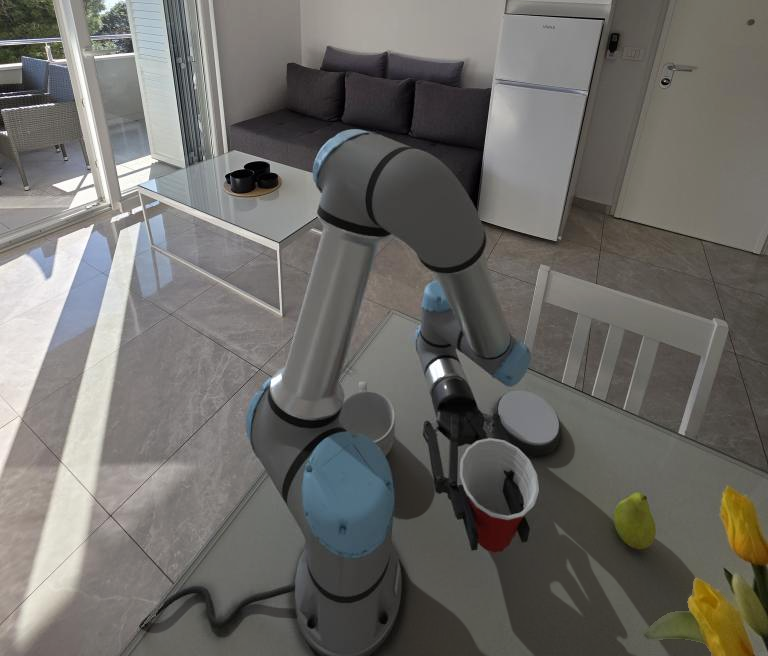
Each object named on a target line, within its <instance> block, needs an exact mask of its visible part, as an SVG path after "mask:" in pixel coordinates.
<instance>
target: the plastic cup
mask: <svg viewBox="0 0 768 656" xmlns="http://www.w3.org/2000/svg"><path fill="white" fill-rule="evenodd" d="M504 470H505V471H507V472H510V471H511V470H512V471H513V472H514V473H515V474H514V478H513V481H514V482H515V483H516V484H517V486H518V487H519V489H520V491H521V494H522V496H523V499H524V504H523V507H522V510H523V511H522V512H521V513H517V514H513V515H511V512H510V510H509V507H508V505H507V502H506V499H505V497H504V494H503V485H504V480H505V479H506V475H505V473H504ZM459 477H460V481H461V485H462V484H463V487H464V490H465V492H466V495H467V498H468V501H469V504H470V508H471V511H472V514H473V518H474V521H475V524H476V527H477V531H478V534H479V541H478V546H480V547H482V548H483V549H484V550H486V551H488V552H490V553H501V552H503V551H504V550H505V549H506V548H507V547H509V546H510V544H511V542H512V540H513V539H514V537H515V536H516V535H517V533H518V531H517V529H518V526H519V524H520V522H521V520H522V519H523V518H524V516H525V517H526V515H527V513H528V512H530V511H531V510H532V509H533V507H534V506H535V504H536V502H537V498H538V495H539V491H540V488H539V479H538V473H537V472H536V470H535V468H534V465H533V463H532V461H531V460H530V459H529V458H528V456H526V454H524V453H523V452H522V451H521V450H520V449H519V448H517V447H515V446H514V445H512V444H510V443H508V442H506V441H504V440H499V439H494V437H493V438H492V437H488V439H483V440H478V441H476V442H475V443H473V444H472V445H469V446H467V448H466V449H465V451H464V453H463V454H462V457H461V458H460V464H459Z"/></svg>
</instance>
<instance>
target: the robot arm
mask: <svg viewBox="0 0 768 656" xmlns="http://www.w3.org/2000/svg"><path fill="white" fill-rule="evenodd" d="M312 179H313V183H315V186H316V189H317V190H318V191H319V193H320V194H321V195H320V200H319V204H318V207H317V211H316V217H317V218H318V219H317V220H319V222H320V224H321V225H322V231H321V236H320V239H319V242H318V246H317V248H316V249H317V250H316V254H315V257H314V260H313V263H312V264H313V265H312V267H311V272H310V275H309V279H308V283H307V286H306V290H305V294H304V297H303V301H302V304H301V308H300V312H299V315H298V319H297V322H296V326H295V330H294V334H293V338H292V341H291V344H290V349H289V351H288V355H287V358H286V359H287V360H286V363H285V366H284V367H282V368H280V369H278V370H277V371H276V372H275V373H274V375H273V376H271V377H269V378H268V379H267V380H265V382H264V383H263V384H262V385H261V391H257V392H256V393H255V394H254V395H253V398H252V399H251V400H250V404H249V406H248V409H247V412H246V415H245V416H246V417H245V432H246V436H247V438H248V441H249V443H250V446H251V450H252V451H253V453H254V455H255V457H256V458H257V459H258V460H259V462H260V464H261V465H262V467H263V468H264V470H265V471H266V473H267V475H268V477H269V478H270V480H271V482H272V483H273V485H274V487H275V488H276V490H277V492H278V493H279V495H280V497H281V498H282V500H283V502H284V503H285V505H286V506H287V508H288V511H290V513H291V515H292V518H293V519H294V520H295V522H296V524H297V525H298V527H299V529H300V530H301V533H302V535H303V537H304V540H305V547H304V550H303V551H302V553H301V556H300V558H299V561H298V564H297V568H296V571H295V576H294V577H295V578H294V583H290V584H288V585H284V586H281V587H277V588H274V589H271V590H268V591H262V592H257V593H254V594H251V595H249V596H247V597H245V598H244V599H242V600H241V601H239V602H238V604H237V605H235V606H234V608H233V609H232V610H231V612H229V614H228V615H227V616H225V618H222V619H217V618H216V617H215V615H214V610H213V601H212V597H211V594H210V591H209V590H208V589H207V588H206V587H205V586H202V585H192V586H188V587H185V588H183V589H181V590H179V591H177V592H175V593H174V594H173V595H171V596H169V597H168V598H167V599H165V600H166V601H165V600H164V601H165V602H164V601H163V602H164V604H163V606H162V607H161V608H160V609H159V610H158V612H157V613H156V616H155V617H153V618H152V619H151V621H153V620H154V619H155V618H156V617H157V616H158V615H159V614H161V613H162V612H163V611H164V610H165V609H166V608H168V607H169V606H170V605H171V604H173V603H175V602H176V601H177V600H179V599H181V598H183V597H186V596H189V595H193V594H196V595H201V596H202V597H203V598H204V602H205V611H206V617H207V619H208V622H209V624H210V625H211V626H212V627H213V628H216V629H222V628H224V627H226V626H228V625H229V624H230V623H231V622H232V621H233V620H234V618H235V617H236V616H237V615H238V614H239V613H240V612H241V610H242V609H244V608H245V607H247V606H249V605H250V604H253V603H256V602H260V601H265V600H269V599H272V598H275V597H278V596H282V595H285V594H289V593H292V592H294V607H295V608H294V609H295V615H296V619H297V623H298V626H299V628H300V631H301V633H302V635H303V637H304V639H305V640H306V642H307V643H308V645H309V646H310V647H311V648H312V649H313V651H315V652H316V653H317V654H318V655H320V656H370V655H372V654H374V652H376V650H378V649H379V648H380V647H381V646H382V644H383V643H384V642H385V641H386V639H387V638H388V637H389V635H390V634H391V632H392V630H393V627H394V625H395V623H396V620H397V617H398V614H399V611H400V606H401V599H402V598H401V597H402V586H403V584H402V581H403V580H402V568H401V563H400V559H399V556H398V553H397V550H396V548H395V545H394V544H393V542H392V536H393V535H392V534H393V524H394V514H395V501H396V500H395V499H396V498H395V487H394V481H393V474H392V470H391V466H390V464H389V461H388V459H387V456H385V455H384V453H383V452H382V450H381V449H380V448H379V447H378V446H377V445H376V444H375V443H374V442H373V441H372V440H371V439H369V438H368V437H366V436H364V435H362V434H358V435H352V433H351V432H348V431H347V430H346V429H345V428H344V427H343V425H342V424H341V423H340V421H339V416H340V412H341V409H342V405H343V402H344V401H345V390H344V387H343V385H342V384H341V382H340V380H341V376H342V372H343V370H344V366H345V362H346V359H347V356H348V351H349V348H350V345H351V341H352V337H353V335H354V331H355V328H356V325H357V320H358V317H359V314H360V311H361V306H362V303H363V300H364V298H365V297H364V296H365V294H366V293H365V292H366V290H367V286H368V283H369V280H370V276H371V272H372V268H373V266H374V261H375V259H376V254H377V252H378V248H379V244H380V243H381V242H383V241H385V240H387V239H389V238H390V237H392V236H394V237H396V238H398V239H399V240H400V241H402V242H403V243H404V244H406V245H407V246H408V247H410V248H411V249H412V250H413V251H414V252H415V254H416V256H417V257H418V259H419V261H420V263H421V264H422V265H423V267H425V269H427V270H428V271H430V272H433V273H434V276H435V278H436V279H435V280H433V281H431V282H429V283H427V284H426V286H424V289H423V295H422V301H421V303H420V304H421V305H420V306H421V313H420V314H421V315H420V324H419V325H418V327H417V329H416V330H415V331H414V335H413V336H414V337H413V338H414V343H415V350H416V353H417V355H418V358H419V362H420V365H421V368H422V371H423V376H424V379H425V381H426V386H427V389H428V392H429V395H430V398H431V403H432V407H433V410H434V414H435V417H436V420H435V421H433V422H430V421H429V420H425V421H423V427H422V437H423V439H424V440H425V442H426V444H427V448H428V453H429V459H430V460H429V461H430V466H431V473H432V479H433V484H434V490H435V492H436V494H438V495H441V494H443V493H444V494H447V499H448V500H450V502H451V506H452V510H453V513H454V517H455V518H456V520H462V522H463V525H464V528H465V532H466V536H467V539H468V542H469V546H470V549H471V550H470V551H472V552H473V551H477V550H478V547H479V543H478V541H479V534H478V531H477V527H476V524H475V521H474V518H473V514H472V511H471V508H470V504H469V501H468V498H467V494H466V492H465V490H464V487H463V484H462V483H461V484H458V480H459V479H458V473H459V472H458V471H459V447H462V446H465V445H469V446H471V445H472V444H473V443H475V442H476V441H478V440H483V439H488V438H489V437H488V435H487V432H486V430H485V429H484V426H486V427H487V429H488V432H489V433H490V434H492V436H493V439H499V440H504V441H506V442H508V443H510V444H511V442H510V440H509V439H508V437H507V435H506V433H505V431H504V429H503V427H502V424H501V418H500V415H499V414H497V413H496V412H494V413H493V415H492V416H489V415H485V414H484V413H483V411H481V410H480V408H479V406H478V404H477V401H476V397H475V396H474V392H473V391H472V388H471V385H470V384H469V380H468V378H467V375H466V372H465V371H464V369H463V365H462V363H461V361H460V358H459V355H458V353H457V351H458V352H460V353H462V354H463V355H464V356H465V357H467V358H468V359H469V360H471V361H472V362H473V363H475V364H476V365H477V366H478V367H480V368H481V369H482V370H483V371H485V372H486V373H487V374H489V375H490V376H491V377H492V379H496V380H497V381H498V382H500V383H501V384H502V385H504V386H505V387H509V388H512V387H515V386H517V385H518V384H519V383H520V382H521V381H522V380H523V378H524V377H525V376H526V374H527V371H528V370H529V367H530V364H531V360H532V353H531V350H530V348H529V347H528V346H527V345H526V343H525V344H524V342H522V341H521V339H519V338H516V337H515V336H513V335H512V333H511V330H510V328H509V324H508V323H509V322H508V321H507V318H506V314H505V312H504V309H503V306H502V302H501V299H500V297H499V295H498V291H497V288H496V285H495V281H494V279H493V276H492V273H491V271H490V267H489V265H488V261H487V259H486V255H485V252H486V249H487V240H488V239H487V235H486V231H485V229H484V228H485V227H484V225H483V222H482V220H481V218H480V215H479V212H478V210H477V208H476V206H475V205H474V202H473V200H472V199H471V198H470V196H469V193H468V192H467V191H466V189H465V187H464V186H463V185H462V183H461V182H460V180H459V179H458V178H457V177H456V175H455V174H454V173H453V171H451V169H450V168H448V167H447V165H445V164H444V162H442V161H441V160H440V159H439V158H437V157H436V156H434V155H432V154H431V153H429V152H427V151H424V150H423V149H419V148H415V147H412V146H409V145H407V144H404V143H401V142H400V141H397V140H394V139H392V138H389V137H386V136H384V135H382V134H379V133H376V132H374V131H368V130H364V129H357V128H352V129H346V130H343V131H340V132H338V133H337V134H336V135H335V136H333V137H331V138H329V139H328V140H327V141H326V142H325V143H324V144H323V145H322V147H321V148H320V149H319V151H318V153H317V155H316V157H315V160H314V161H313V166H312ZM438 432H439V433H440V434H442V435H443V436H444V437H445V438H446V439H447V440H449V443H448V444H449V446H448V448H449V449H448V477H446V476H445V474H444V468H443V462H442V457H441V452H440V447H439V440H438ZM504 473H505V475H506V479H505V480H504V485H503V494H504V497H505V499H506V502H507V505H508V507H509V510H510V512H511V515H513V514H517V513H521V512H522V511H523V510H522V507H523V504H524V499H523V496H522V494H521V491H520V489H519V487H518V486H517V484H516V483H515V482H514V481H513V478H514V474H515V473H514V472H513V471H512V470H511V471H510V472H507V471H505V470H504ZM530 530H531V528H530V525H529V523H528V521H527V517H526V515H525V516H524V518H523V519H522V520H521V522H520V524H519V526H518V529H517V534H518V536H519V539H520V541H521V543H527V542H528V539H529V535H530ZM154 610H155V609H153V610H152V611H151V612H150V613H149V614H148V615H147V616H146V617H145V618H143V620H142V621H141V622H140V623H139V626H138V627H139V629H142V628H141V626H142V625H143V624H144V622H145V621H146V620H147V618H148V617H149V616H150V615H151V613H152V612H153V611H154Z"/></svg>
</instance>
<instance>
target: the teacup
mask: <svg viewBox="0 0 768 656" xmlns="http://www.w3.org/2000/svg"><path fill="white" fill-rule="evenodd" d="M367 386H368V385H367V382H366V381H359V383H358V392H355V393H352V394H351V395H349V396H348V397H347V398H345V399H344V402H343V405H342V409H341V412H340V416H339V421H340V423H341V424H342V425H343V427H344V428H345V429H346V430H347V431H348V432H351V433H352V435H358V434H362V435H364V436H366V437H368V438H369V439H371V440H372V441H373V442H374V443H375V444H376V445H377V446H378V447H379V448H380V449H381V450H382V452H383V453H384V455H385V457H387V455H388V454H389V453H390V452H391V449H392V447H393V444H394V440H395V432H396V431H395V430H396V410H395V408H394V405H393V403H392V401H391V400H390V399H389V398H388V397H387V396H386V395H384V394H382V393H380V392H378V391H374V390H368V387H367Z"/></svg>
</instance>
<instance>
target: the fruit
mask: <svg viewBox="0 0 768 656" xmlns="http://www.w3.org/2000/svg"><path fill="white" fill-rule="evenodd" d="M655 523H656V522H655V520H654V518H653V515H652V513H651V509H650V505H649V502H648V497H647V496H646V495H644V494H643V493H641V492H635V493H632V494H631V495H629V497H627V498H623V499H622V500H621V501H619V503H618V504H617V505H616V508H615V509H614V513H613V524H614V528H615V530H616V532H617V534H618V536H619V537H620V539H621V540H622V542H624V543H625V544H626V545H627V546H629V547H630V548H633V549H635V550H645V549H648V548H649V547H650V546H652V545H653V543H654V541H655V538H656V524H655Z"/></svg>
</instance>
